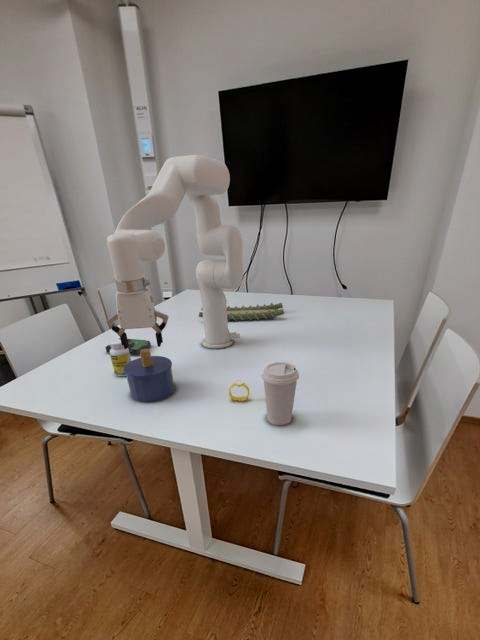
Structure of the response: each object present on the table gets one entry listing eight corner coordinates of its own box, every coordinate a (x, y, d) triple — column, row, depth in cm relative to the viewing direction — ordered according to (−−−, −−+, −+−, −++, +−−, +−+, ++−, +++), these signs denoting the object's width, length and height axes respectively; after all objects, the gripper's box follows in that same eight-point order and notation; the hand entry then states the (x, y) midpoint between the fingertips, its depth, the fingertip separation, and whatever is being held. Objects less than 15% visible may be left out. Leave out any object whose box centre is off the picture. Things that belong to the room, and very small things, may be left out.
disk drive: (106, 353, 143) (138, 356, 139) (104, 347, 141) (137, 349, 137) (120, 344, 151) (151, 346, 147) (119, 337, 149) (150, 339, 145)
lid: (173, 357, 116) (171, 340, 113) (170, 377, 104) (167, 358, 101) (128, 361, 115) (124, 343, 112) (120, 381, 103) (115, 362, 100)
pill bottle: (111, 375, 125) (102, 344, 119) (122, 368, 130) (115, 337, 124) (126, 377, 123) (118, 346, 117) (137, 370, 128) (130, 339, 122)
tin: (175, 380, 120) (171, 356, 115) (172, 400, 109) (168, 375, 104) (135, 383, 119) (129, 359, 115) (128, 403, 108) (121, 378, 103)
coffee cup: (287, 432, 92) (289, 380, 84) (255, 422, 97) (254, 372, 88) (302, 414, 99) (305, 364, 90) (272, 406, 103) (272, 358, 95)
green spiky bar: (282, 311, 178) (282, 301, 176) (284, 320, 166) (284, 309, 164) (202, 314, 181) (201, 304, 178) (198, 323, 169) (197, 313, 166)
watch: (229, 402, 106) (227, 384, 103) (230, 397, 109) (228, 380, 105) (249, 402, 106) (248, 384, 102) (249, 397, 108) (249, 380, 105)
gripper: (164, 280, 99) (173, 339, 109) (101, 284, 99) (116, 343, 108) (162, 286, 93) (171, 349, 103) (95, 290, 92) (110, 353, 102)
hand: (143, 346), depth 105 cm, fingers open, 9 cm apart
